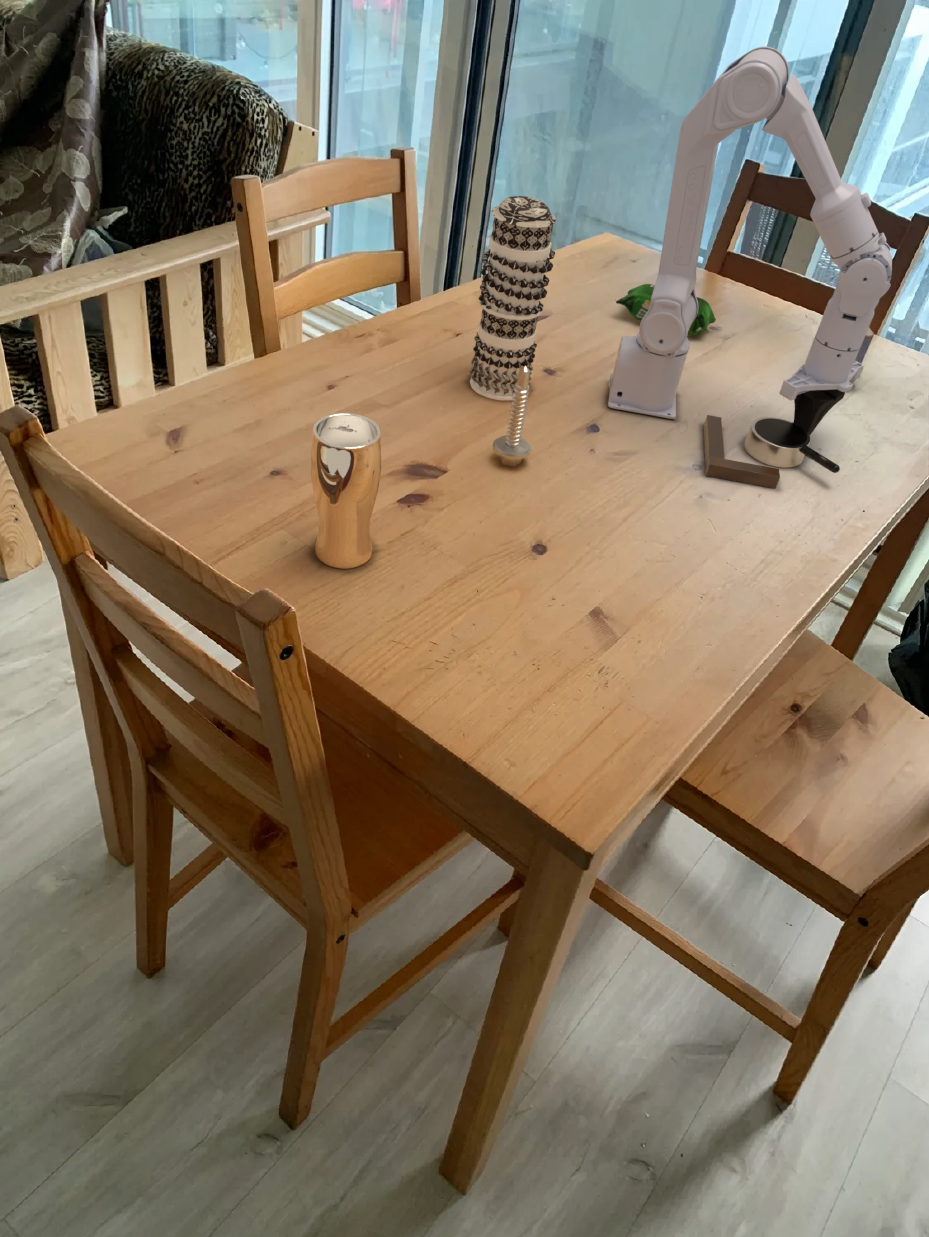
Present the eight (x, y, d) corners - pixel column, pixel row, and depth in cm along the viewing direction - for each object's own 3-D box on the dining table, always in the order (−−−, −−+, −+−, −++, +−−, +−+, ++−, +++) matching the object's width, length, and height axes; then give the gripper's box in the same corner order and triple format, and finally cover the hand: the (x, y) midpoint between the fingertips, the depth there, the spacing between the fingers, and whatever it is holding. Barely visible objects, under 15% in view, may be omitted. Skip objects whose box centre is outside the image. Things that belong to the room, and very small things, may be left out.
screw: (495, 447, 119) (532, 455, 118) (486, 466, 116) (524, 475, 115) (510, 353, 110) (549, 361, 110) (500, 370, 107) (541, 379, 106)
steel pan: (732, 444, 126) (739, 423, 124) (770, 430, 130) (778, 410, 128) (811, 496, 118) (820, 475, 116) (849, 480, 122) (859, 459, 120)
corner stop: (705, 476, 119) (709, 464, 118) (703, 426, 129) (706, 414, 128) (775, 488, 119) (780, 477, 118) (767, 437, 129) (772, 426, 127)
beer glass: (343, 523, 104) (346, 404, 94) (389, 552, 101) (397, 432, 91) (297, 550, 99) (295, 427, 89) (343, 580, 96) (347, 457, 86)
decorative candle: (542, 398, 130) (576, 215, 113) (481, 405, 127) (507, 217, 110) (516, 368, 136) (544, 189, 119) (457, 373, 133) (478, 190, 116)
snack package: (624, 304, 158) (631, 274, 154) (713, 329, 154) (722, 299, 150) (611, 319, 153) (617, 288, 149) (703, 345, 149) (712, 314, 145)
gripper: (827, 365, 113) (789, 461, 122) (897, 344, 120) (856, 436, 129) (782, 341, 117) (749, 435, 126) (852, 322, 124) (816, 412, 133)
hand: (800, 434), depth 127 cm, fingers closed
